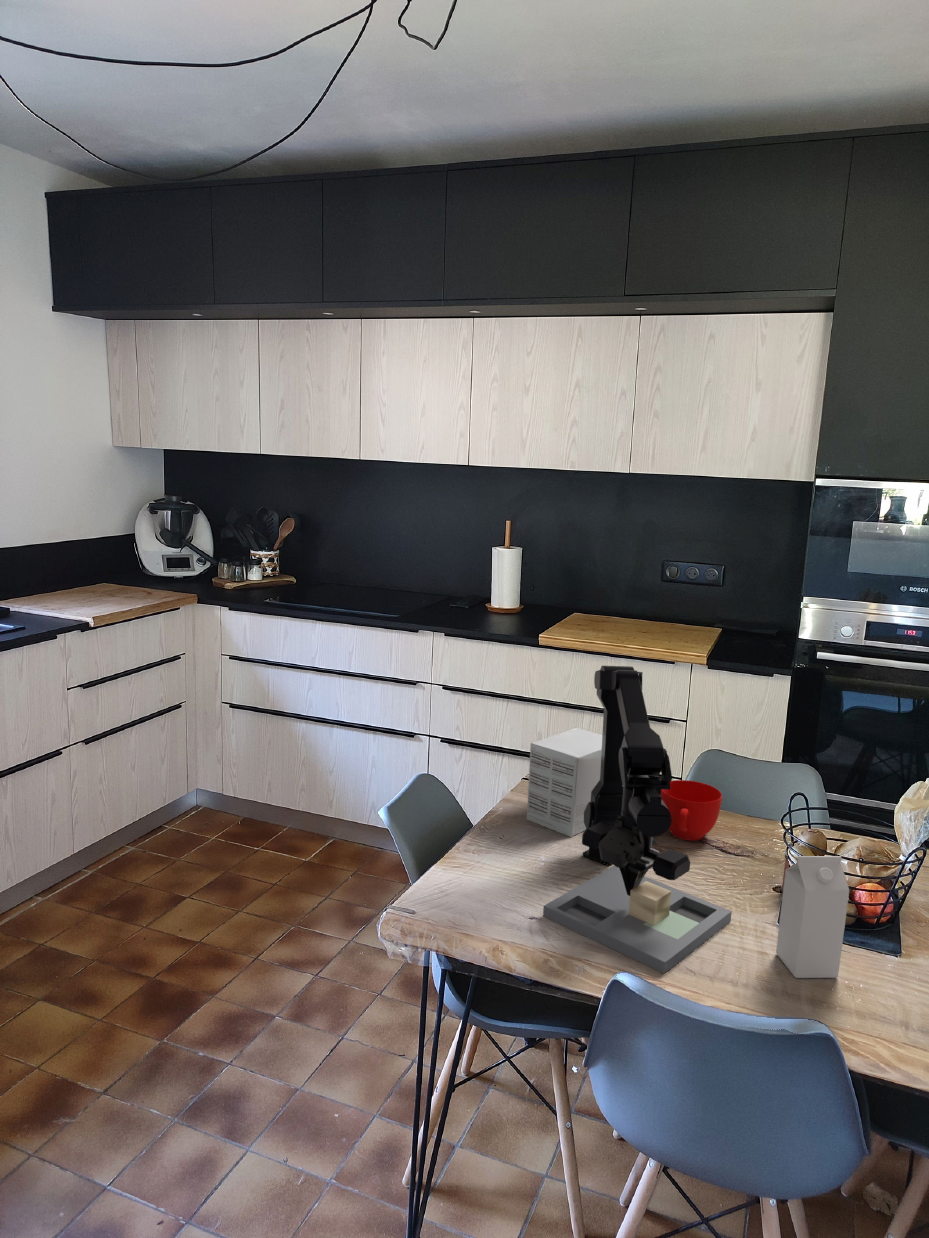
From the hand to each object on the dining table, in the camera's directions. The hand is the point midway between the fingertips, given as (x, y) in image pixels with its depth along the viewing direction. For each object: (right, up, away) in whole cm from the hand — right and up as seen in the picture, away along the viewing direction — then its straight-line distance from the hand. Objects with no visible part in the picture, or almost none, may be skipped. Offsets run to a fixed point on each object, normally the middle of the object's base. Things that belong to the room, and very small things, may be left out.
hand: (630, 895), depth 153 cm
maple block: (+3, -3, -2) cm, 4 cm away
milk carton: (+26, -8, -12) cm, 30 cm away
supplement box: (-5, +4, +43) cm, 43 cm away
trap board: (+1, -4, 0) cm, 4 cm away
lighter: (+35, -4, +12) cm, 37 cm away
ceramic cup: (+19, +1, +35) cm, 39 cm away
